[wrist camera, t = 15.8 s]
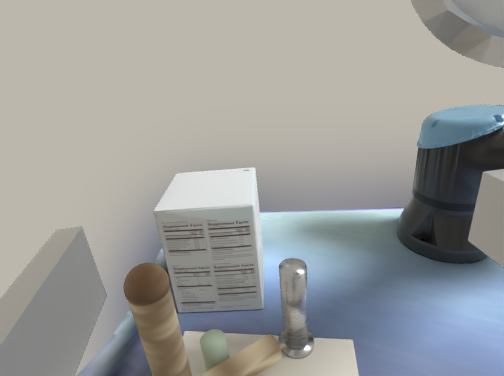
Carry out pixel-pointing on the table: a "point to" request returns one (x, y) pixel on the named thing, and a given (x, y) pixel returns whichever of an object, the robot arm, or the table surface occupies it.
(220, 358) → the post
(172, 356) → the gate
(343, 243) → the table surface
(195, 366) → the board
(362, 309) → the table surface
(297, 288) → the hinge post
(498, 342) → the table surface
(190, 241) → the supplement box
